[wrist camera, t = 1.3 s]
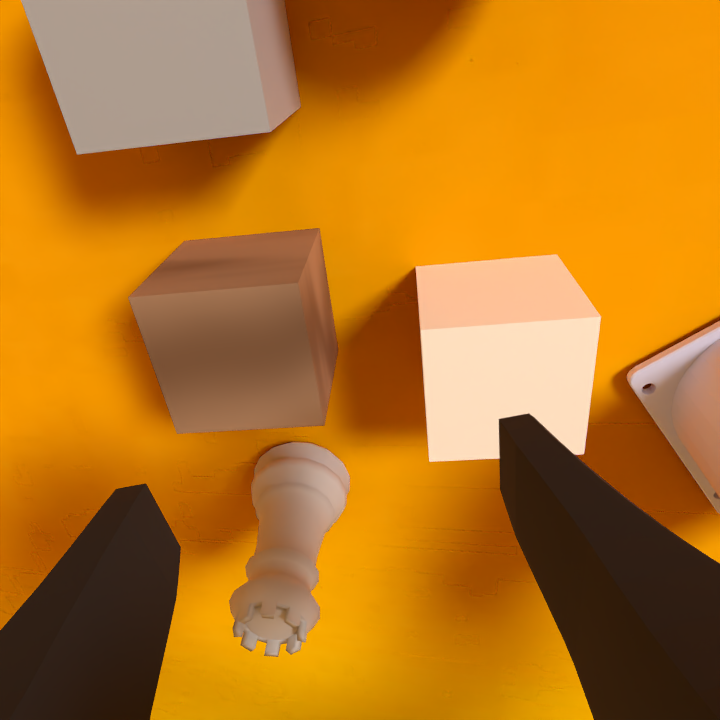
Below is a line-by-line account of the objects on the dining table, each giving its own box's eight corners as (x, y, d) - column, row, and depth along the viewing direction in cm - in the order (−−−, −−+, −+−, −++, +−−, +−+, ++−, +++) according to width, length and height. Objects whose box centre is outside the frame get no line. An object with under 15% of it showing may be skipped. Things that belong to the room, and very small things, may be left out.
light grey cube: (301, 106, 18) (270, 132, 13) (152, 124, 18) (77, 154, 14) (270, -93, 15) (219, -141, 11) (98, -65, 16) (-15, -100, 11)
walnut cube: (338, 348, 22) (324, 425, 18) (218, 357, 23) (177, 433, 18) (319, 227, 20) (297, 282, 15) (185, 240, 20) (128, 297, 16)
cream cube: (547, 371, 22) (584, 454, 18) (423, 379, 23) (429, 461, 18) (556, 253, 20) (601, 316, 15) (415, 265, 20) (420, 330, 16)
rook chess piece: (236, 458, 25) (177, 617, 19) (315, 420, 24) (284, 577, 17) (292, 518, 27) (257, 683, 20) (369, 487, 26) (359, 652, 19)
